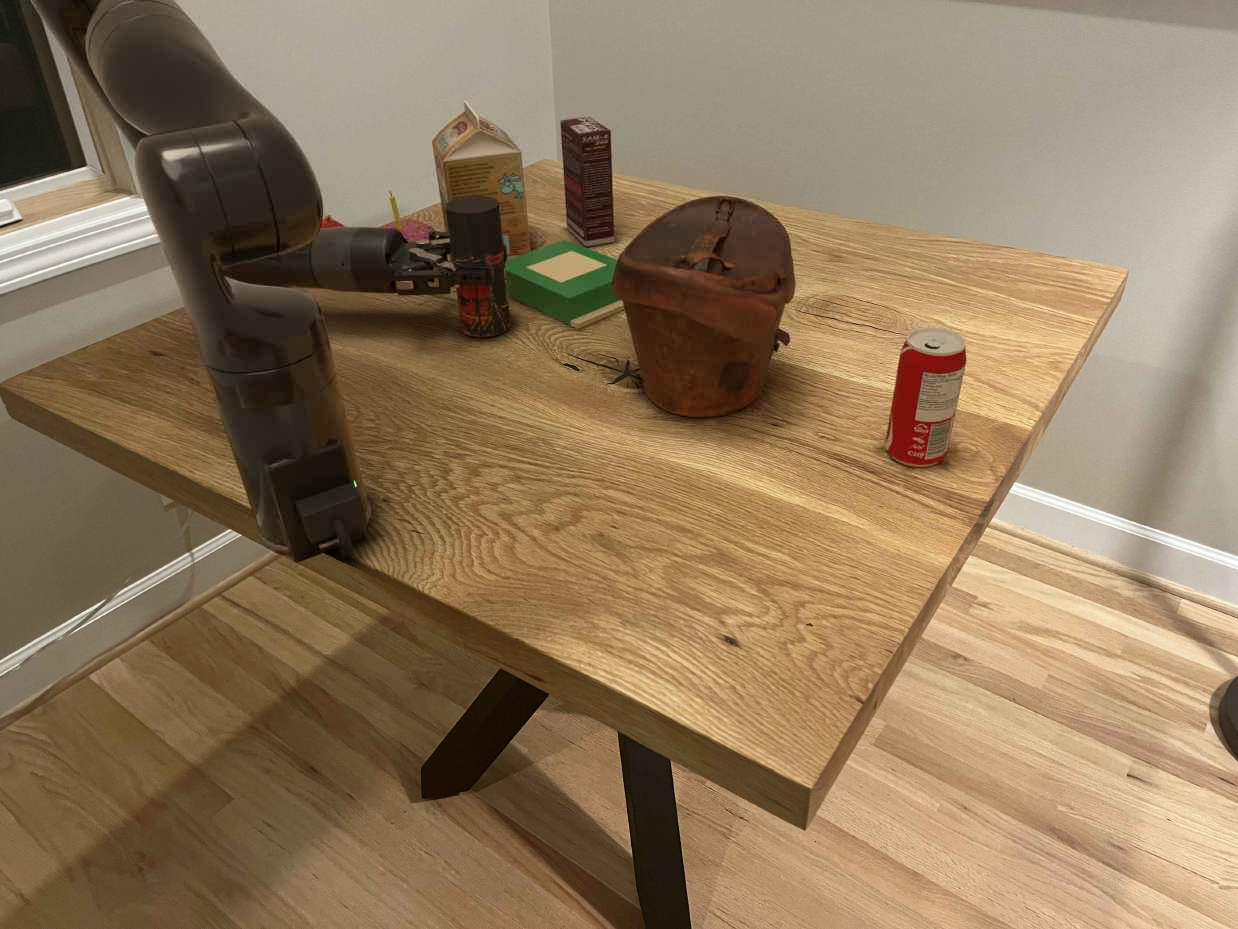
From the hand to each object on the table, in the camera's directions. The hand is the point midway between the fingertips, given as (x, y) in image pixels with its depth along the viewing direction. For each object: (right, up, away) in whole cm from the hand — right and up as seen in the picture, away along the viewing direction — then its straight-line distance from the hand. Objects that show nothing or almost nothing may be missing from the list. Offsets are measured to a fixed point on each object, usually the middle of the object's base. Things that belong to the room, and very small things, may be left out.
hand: (499, 264), depth 104 cm
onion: (-25, +4, +21) cm, 33 cm away
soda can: (+41, -22, -20) cm, 51 cm away
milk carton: (-5, +9, +28) cm, 30 cm away
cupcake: (-15, +3, +20) cm, 25 cm away
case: (+23, -15, -9) cm, 29 cm away
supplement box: (+10, +11, +29) cm, 33 cm away
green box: (+7, -1, +13) cm, 15 cm away
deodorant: (-2, -7, +5) cm, 9 cm away
